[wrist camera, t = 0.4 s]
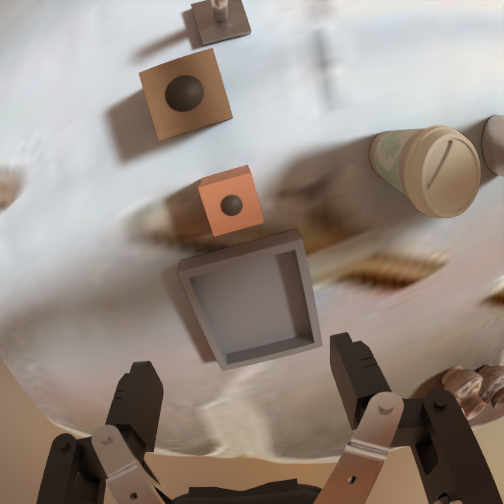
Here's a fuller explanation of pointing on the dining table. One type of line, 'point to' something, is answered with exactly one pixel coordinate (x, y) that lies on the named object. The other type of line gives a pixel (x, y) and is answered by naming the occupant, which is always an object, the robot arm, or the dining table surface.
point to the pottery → (476, 387)
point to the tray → (254, 300)
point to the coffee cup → (429, 168)
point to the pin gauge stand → (220, 20)
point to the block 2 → (230, 200)
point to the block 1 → (185, 94)
